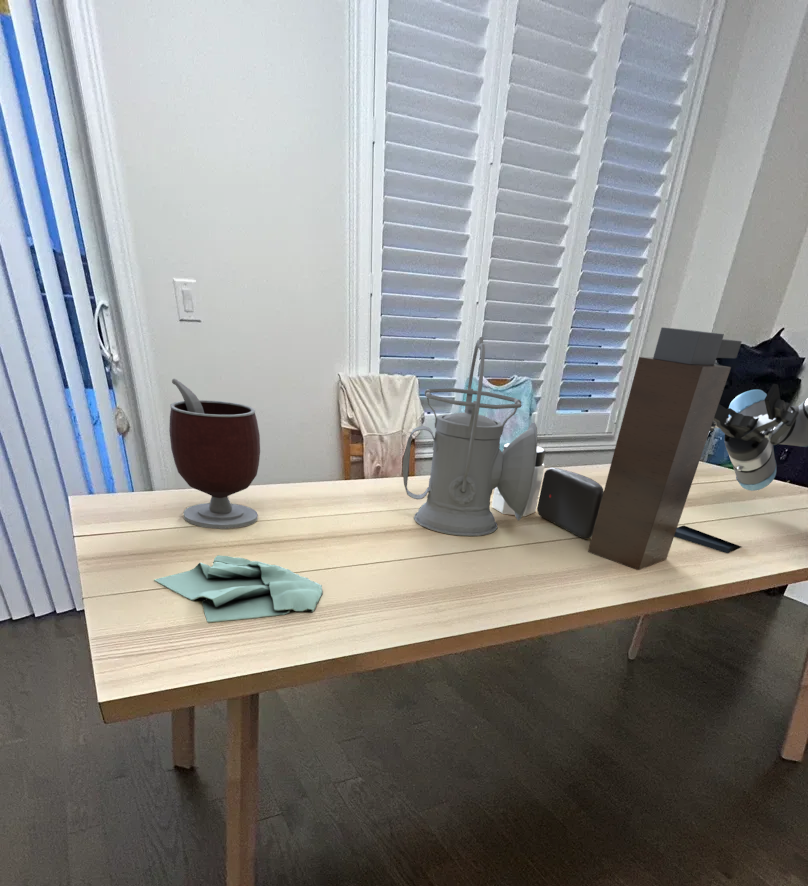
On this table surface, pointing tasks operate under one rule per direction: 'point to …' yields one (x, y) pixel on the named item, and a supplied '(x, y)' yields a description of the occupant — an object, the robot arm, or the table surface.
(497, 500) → the jar
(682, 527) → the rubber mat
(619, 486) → the plinth
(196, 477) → the mate gourd
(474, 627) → the table surface
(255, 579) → the cloth
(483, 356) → the lantern
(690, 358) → the switch lever
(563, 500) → the red-dotted rounded block
